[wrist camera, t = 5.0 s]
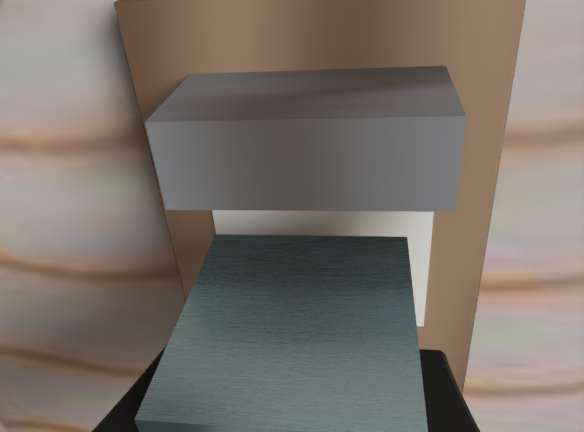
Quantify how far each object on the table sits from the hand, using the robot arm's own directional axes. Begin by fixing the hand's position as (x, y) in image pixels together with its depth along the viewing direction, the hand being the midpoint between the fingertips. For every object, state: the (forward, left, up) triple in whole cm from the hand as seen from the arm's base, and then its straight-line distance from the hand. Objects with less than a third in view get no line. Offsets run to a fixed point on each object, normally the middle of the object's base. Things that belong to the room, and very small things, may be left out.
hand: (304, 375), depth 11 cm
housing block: (0, 0, -2) cm, 2 cm away
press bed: (0, +5, -6) cm, 8 cm away
